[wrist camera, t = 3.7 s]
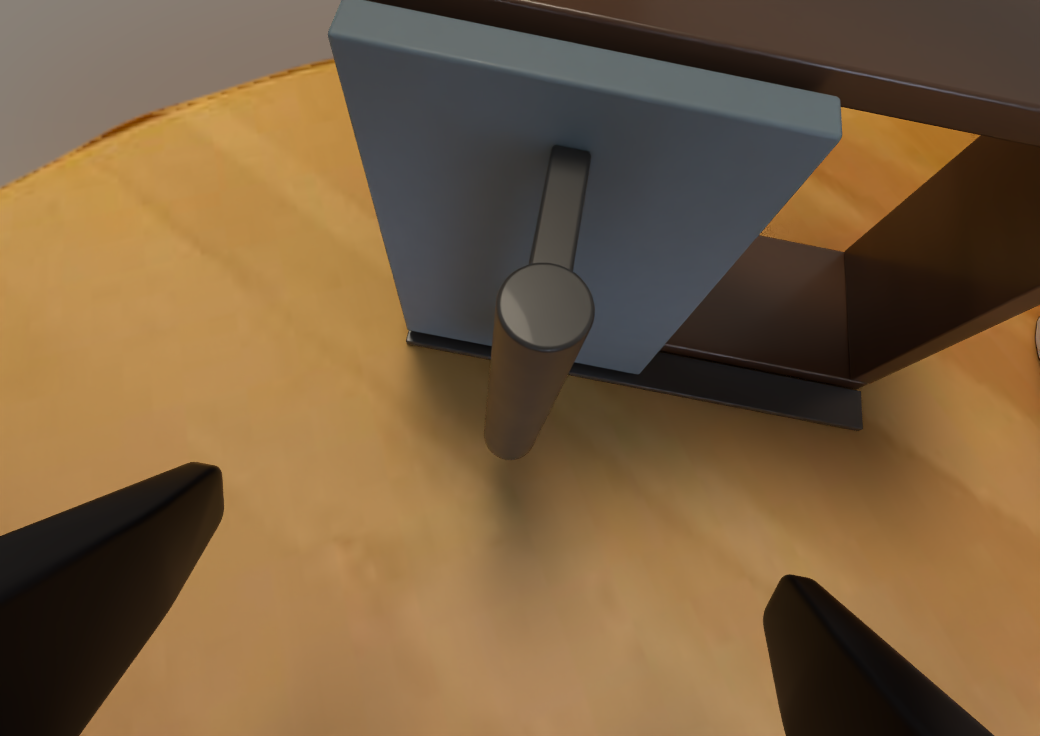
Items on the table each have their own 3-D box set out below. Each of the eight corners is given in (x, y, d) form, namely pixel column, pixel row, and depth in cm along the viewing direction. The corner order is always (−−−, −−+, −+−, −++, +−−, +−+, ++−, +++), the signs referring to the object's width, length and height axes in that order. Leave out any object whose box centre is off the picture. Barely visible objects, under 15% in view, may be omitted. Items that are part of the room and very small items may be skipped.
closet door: (626, 496, 19) (858, 389, 8) (374, 448, 19) (224, 265, 7) (641, 352, 21) (842, 94, 10) (413, 307, 21) (342, -8, 9)
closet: (858, 431, 21) (1373, 247, 9) (406, 343, 21) (315, 34, 9) (849, 264, 24) (1236, -48, 12) (449, 184, 24) (426, -218, 12)
